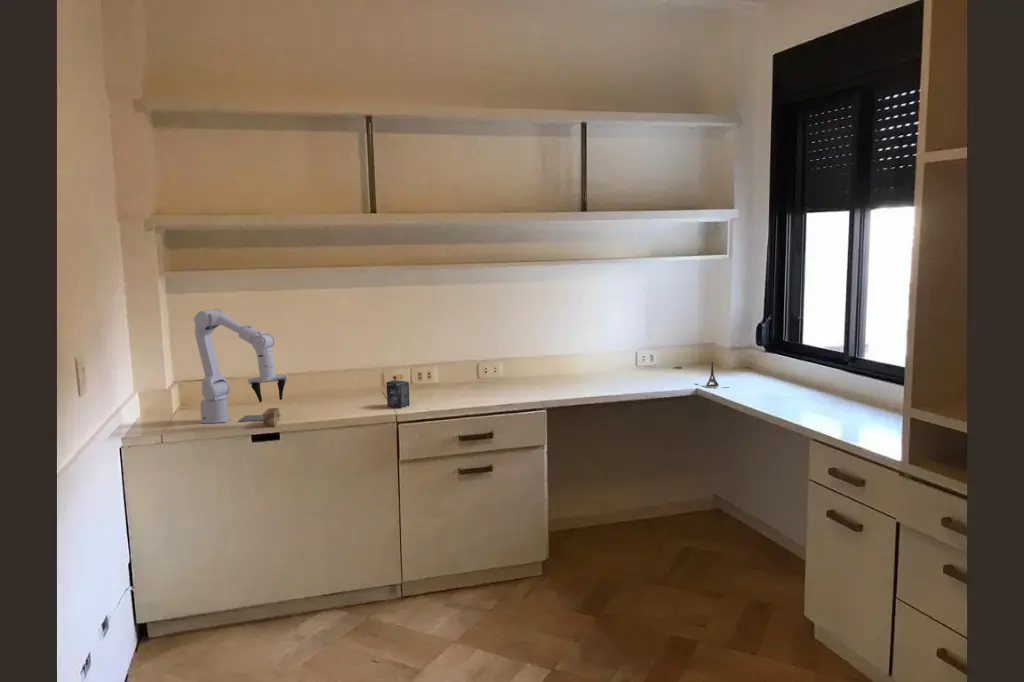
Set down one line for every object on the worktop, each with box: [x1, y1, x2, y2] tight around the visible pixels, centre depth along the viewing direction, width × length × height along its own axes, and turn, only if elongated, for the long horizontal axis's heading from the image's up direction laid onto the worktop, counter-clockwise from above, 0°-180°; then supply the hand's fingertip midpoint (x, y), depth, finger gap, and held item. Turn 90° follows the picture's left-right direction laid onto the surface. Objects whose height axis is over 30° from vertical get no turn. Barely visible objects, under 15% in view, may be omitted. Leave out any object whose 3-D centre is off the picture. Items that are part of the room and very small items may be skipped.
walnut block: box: [262, 407, 281, 428], centre depth 294 cm, size 4×9×6 cm, turn 4°
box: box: [386, 379, 411, 409], centre depth 320 cm, size 8×6×11 cm
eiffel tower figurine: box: [694, 358, 729, 390], centre depth 348 cm, size 15×10×13 cm
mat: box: [238, 413, 281, 423], centre depth 304 cm, size 14×9×1 cm, turn 94°
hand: (270, 400), depth 293 cm, fingers open, 7 cm apart
